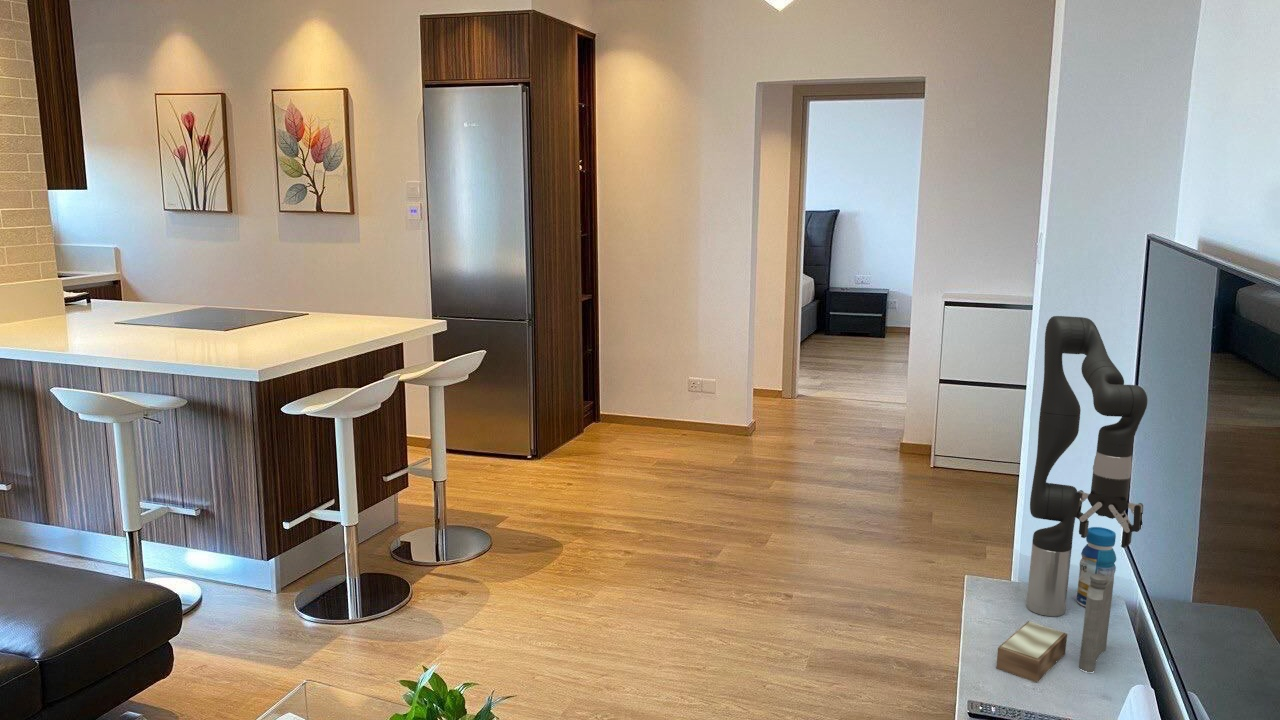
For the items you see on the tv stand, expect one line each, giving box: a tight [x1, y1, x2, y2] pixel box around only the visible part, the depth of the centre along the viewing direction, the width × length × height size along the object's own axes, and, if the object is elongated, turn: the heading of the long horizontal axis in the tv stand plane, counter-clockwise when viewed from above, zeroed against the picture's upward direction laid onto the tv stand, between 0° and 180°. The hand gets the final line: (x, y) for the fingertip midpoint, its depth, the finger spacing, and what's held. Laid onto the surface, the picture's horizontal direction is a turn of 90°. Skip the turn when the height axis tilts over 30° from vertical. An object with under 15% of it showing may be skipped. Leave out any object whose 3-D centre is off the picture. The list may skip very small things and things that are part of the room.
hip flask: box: [1078, 574, 1115, 672], centre depth 219 cm, size 16×4×20 cm, turn 144°
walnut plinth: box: [995, 620, 1068, 683], centre depth 218 cm, size 18×9×5 cm, turn 138°
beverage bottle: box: [1076, 526, 1117, 608], centre depth 247 cm, size 8×8×20 cm
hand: (1103, 541), depth 215 cm, fingers open, 8 cm apart
